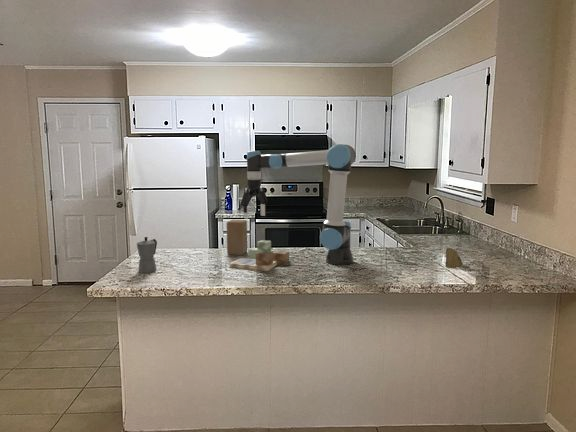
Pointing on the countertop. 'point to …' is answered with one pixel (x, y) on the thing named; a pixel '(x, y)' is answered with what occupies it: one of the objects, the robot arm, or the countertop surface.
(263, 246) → the tower
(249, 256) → the sage block
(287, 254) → the walnut block
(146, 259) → the coffeepot
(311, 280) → the countertop surface
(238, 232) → the block
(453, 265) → the rock
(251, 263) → the blueprint board
